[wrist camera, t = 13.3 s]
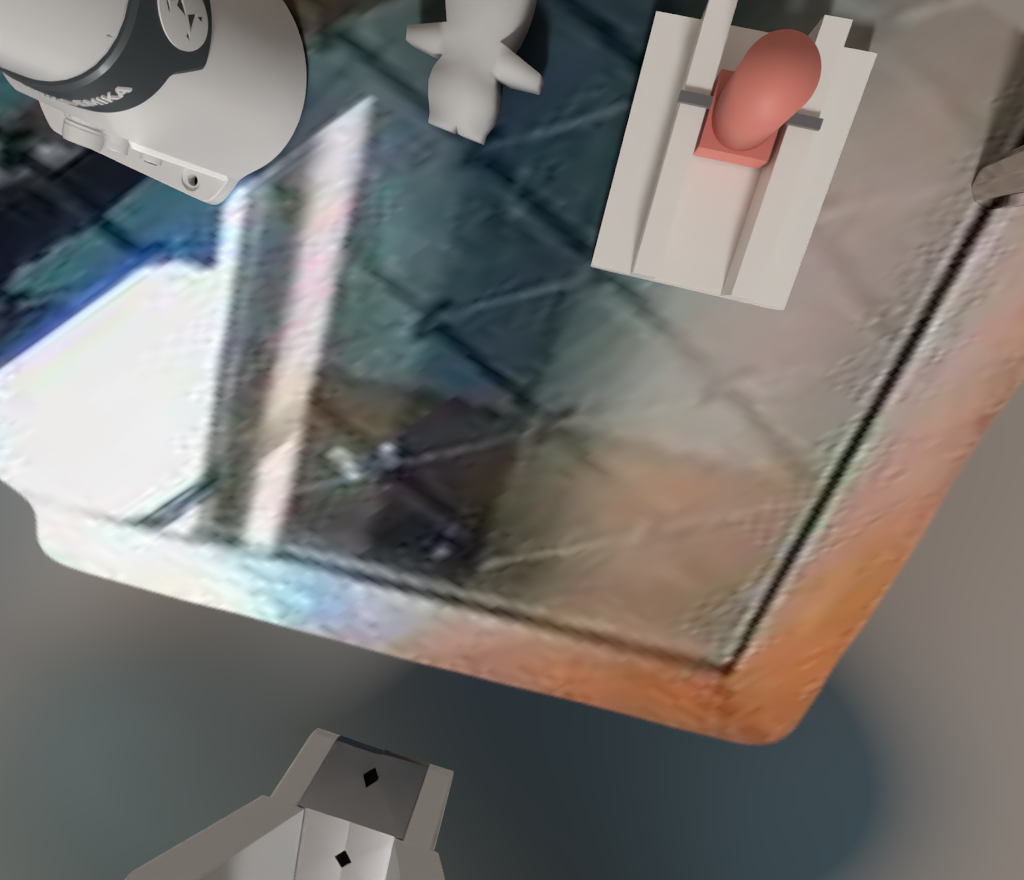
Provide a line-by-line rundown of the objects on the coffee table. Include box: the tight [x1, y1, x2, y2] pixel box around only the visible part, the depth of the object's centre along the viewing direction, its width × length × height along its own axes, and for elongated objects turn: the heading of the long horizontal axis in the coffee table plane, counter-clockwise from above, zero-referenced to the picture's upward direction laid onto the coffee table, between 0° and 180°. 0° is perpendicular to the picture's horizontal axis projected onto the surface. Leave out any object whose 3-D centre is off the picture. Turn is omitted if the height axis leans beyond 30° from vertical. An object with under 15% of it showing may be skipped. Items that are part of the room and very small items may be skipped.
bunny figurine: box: [406, 0, 544, 145], centre depth 35 cm, size 10×5×15 cm
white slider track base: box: [591, 0, 877, 310], centre depth 35 cm, size 14×16×5 cm
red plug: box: [693, 29, 821, 169], centre depth 31 cm, size 4×4×8 cm
